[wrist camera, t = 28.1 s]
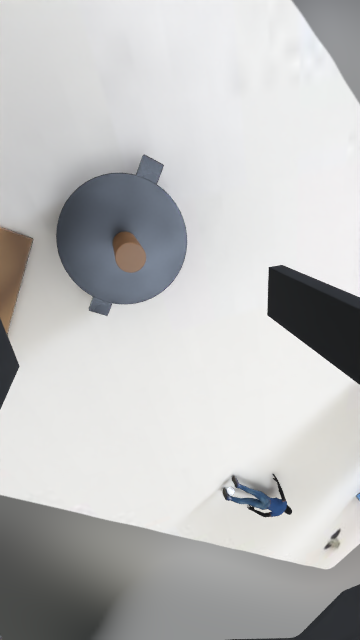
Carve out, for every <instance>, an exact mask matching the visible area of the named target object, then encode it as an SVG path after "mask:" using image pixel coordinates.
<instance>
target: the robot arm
mask: <svg viewBox="0 0 360 640" xmlns="http://www.w3.org/2000/svg"><path fill="white" fill-rule="evenodd" d="M267 315H268V316H269V317H271V318H272V319H273V320H275V321H276V322H277V323H279V324H280V325H281V326H283V327H284V328H285V329H287V330H288V331H289V332H291V333H292V334H293V335H294V336H296V337H297V338H298V339H300V340H301V341H302V342H304V343H305V344H306V345H308V346H309V347H310V348H312V349H313V350H314V351H316V352H317V353H318V354H320V355H321V356H322V357H324V358H325V359H326V360H328V361H329V362H330V363H332V364H333V365H334V366H336V367H337V368H338V369H340V370H341V371H342V372H344V373H345V374H346V375H348V376H349V377H350V378H352V379H353V380H354V381H356V382H357V383H358V384H360V297H357V296H355V295H352V294H350V293H348V292H345V291H343V290H341V289H338V288H336V287H333V286H331V285H329V284H326V283H324V282H321V281H319V280H317V279H314V278H312V277H310V276H307V275H305V274H302V273H300V272H298V271H295V270H293V269H290V268H288V267H286V266H283V265H279V266H274V267H269V280H268V313H267ZM18 368H19V364H18V361H17V359H16V356H15V354H14V351H13V349H12V346H11V344H10V341H9V339H8V336H7V334H6V331H5V328H4V326H3V323H2V321H1V318H0V409H1V407H2V404H3V402H4V400H5V398H6V395H7V393H8V391H9V389H10V386H11V384H12V382H13V380H14V377H15V375H16V373H17V371H18ZM0 640H3V639H2V637H1V635H0ZM232 640H234V639H232ZM235 640H360V585H357V586H355V587H352V588H350V589H347V590H345V591H343V592H342V593H341V594H340V595H339V596H338V597H337V598H336V599H335V600H334V601H333V602H332V603H331V604H330V605H329V606H328V607H327V608H326V609H325V610H324V611H323V612H322V613H321V614H320V615H319V616H318V617H317V618H316V619H315V620H314V621H313V622H312V623H311V624H310V625H309V626H308V627H307V628H306V629H305V630H304V631H303V632H302V633H301V634H300V635H298V636H296V637H294V638H280V639H279V638H278V639H235Z"/></svg>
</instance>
